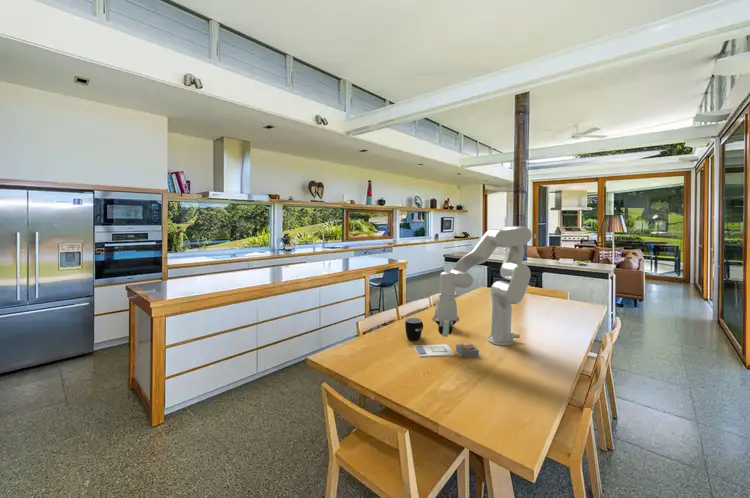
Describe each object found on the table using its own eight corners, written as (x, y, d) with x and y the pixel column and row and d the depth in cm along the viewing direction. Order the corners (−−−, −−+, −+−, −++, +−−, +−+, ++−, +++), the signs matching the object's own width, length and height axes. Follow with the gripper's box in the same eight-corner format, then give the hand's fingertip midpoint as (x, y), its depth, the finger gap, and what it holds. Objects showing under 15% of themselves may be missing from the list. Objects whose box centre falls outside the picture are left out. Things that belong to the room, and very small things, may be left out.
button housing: (471, 349, 163) (472, 343, 163) (478, 356, 155) (478, 350, 155) (456, 350, 162) (456, 344, 162) (461, 357, 155) (462, 351, 154)
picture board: (446, 345, 169) (446, 343, 169) (454, 355, 157) (454, 353, 157) (413, 346, 167) (413, 344, 167) (419, 356, 155) (419, 354, 155)
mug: (414, 343, 171) (414, 324, 170) (401, 338, 178) (401, 320, 177) (429, 337, 180) (429, 319, 178) (416, 333, 186) (416, 315, 185)
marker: (447, 334, 167) (448, 318, 166) (449, 337, 164) (450, 320, 163) (440, 334, 167) (440, 318, 166) (442, 337, 163) (443, 320, 162)
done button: (469, 348, 161) (470, 342, 161) (473, 352, 157) (473, 345, 157) (461, 348, 161) (461, 342, 160) (464, 352, 156) (464, 346, 156)
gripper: (460, 295, 168) (458, 330, 170) (428, 295, 166) (426, 331, 168) (466, 299, 160) (464, 336, 162) (432, 299, 159) (430, 336, 161)
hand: (445, 333), depth 165 cm, fingers closed on marker, 3 cm apart
